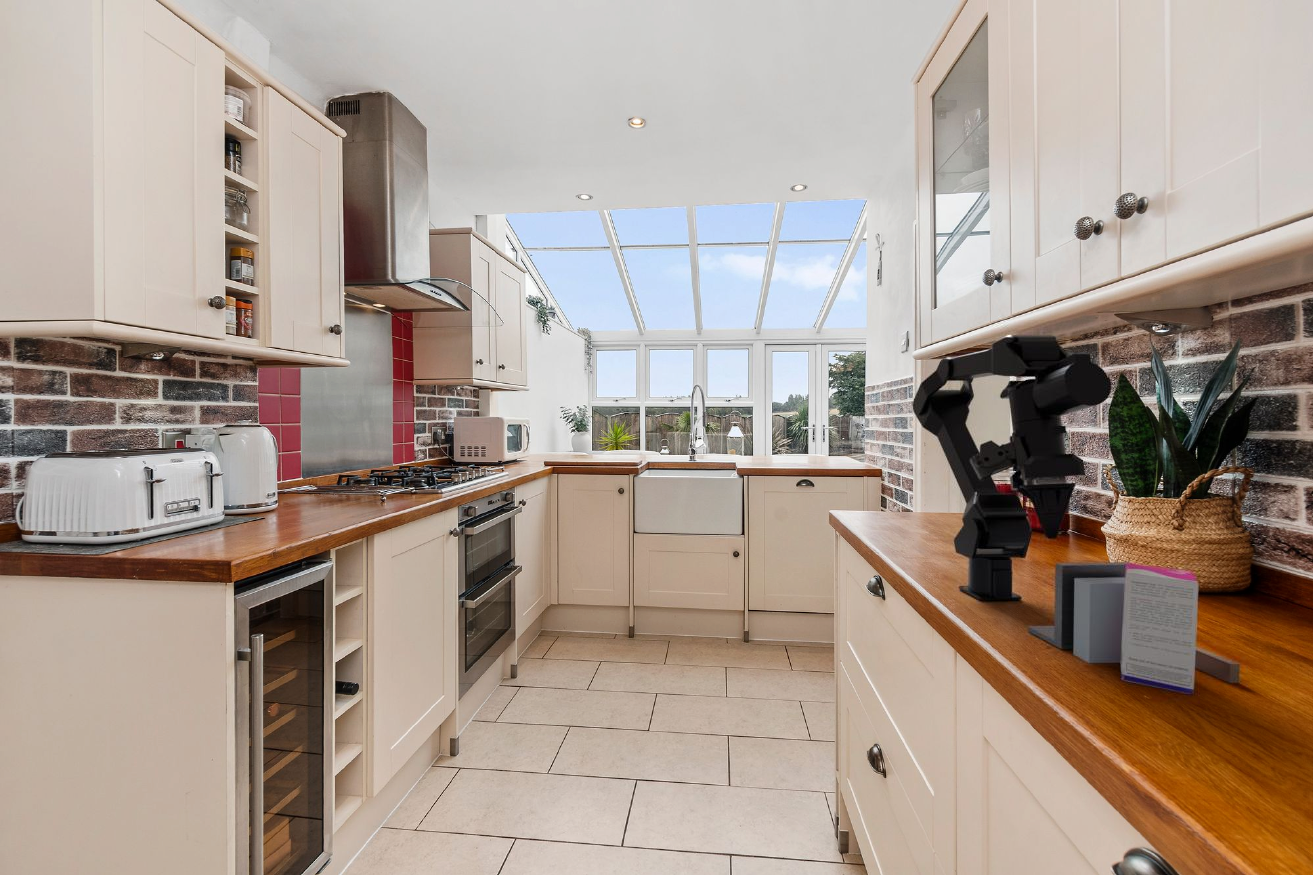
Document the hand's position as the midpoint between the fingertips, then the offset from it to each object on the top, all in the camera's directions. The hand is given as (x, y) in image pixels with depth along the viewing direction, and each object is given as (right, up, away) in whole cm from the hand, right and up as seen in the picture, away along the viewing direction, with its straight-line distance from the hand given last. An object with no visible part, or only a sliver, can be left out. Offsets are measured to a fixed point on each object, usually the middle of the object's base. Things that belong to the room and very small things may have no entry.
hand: (1051, 538), depth 79 cm
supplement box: (+1, -12, -16) cm, 20 cm away
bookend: (0, -12, -5) cm, 13 cm away
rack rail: (+7, -12, -10) cm, 17 cm away
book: (0, -12, -10) cm, 16 cm away
